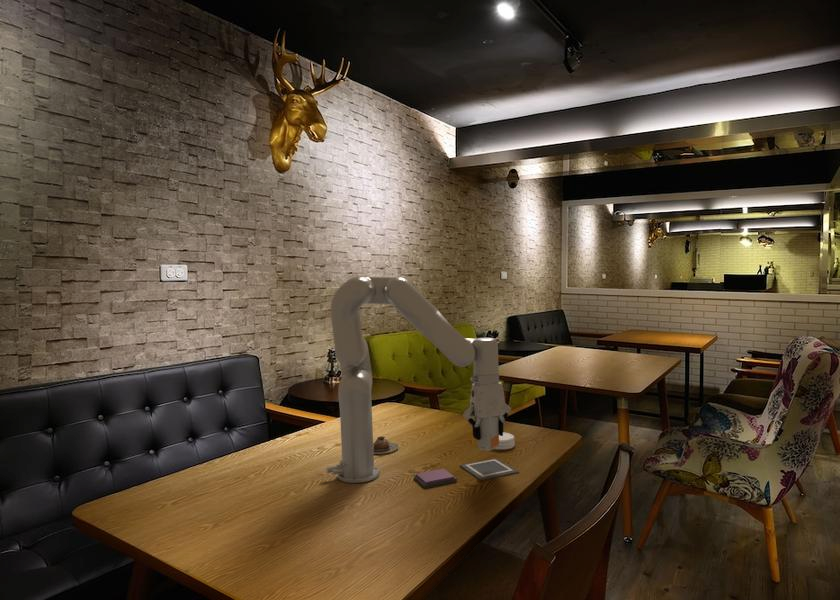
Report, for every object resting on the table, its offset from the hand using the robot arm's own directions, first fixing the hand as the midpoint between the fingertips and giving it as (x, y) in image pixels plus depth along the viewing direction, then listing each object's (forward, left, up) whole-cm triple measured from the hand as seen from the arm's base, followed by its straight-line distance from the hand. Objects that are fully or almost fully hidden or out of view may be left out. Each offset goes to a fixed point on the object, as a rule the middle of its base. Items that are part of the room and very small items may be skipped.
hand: (488, 436), depth 162 cm
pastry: (-23, +34, -11) cm, 42 cm away
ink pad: (-18, 0, -10) cm, 21 cm away
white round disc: (+15, +18, -11) cm, 26 cm away
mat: (0, 0, -10) cm, 10 cm away
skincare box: (0, 0, -4) cm, 4 cm away
